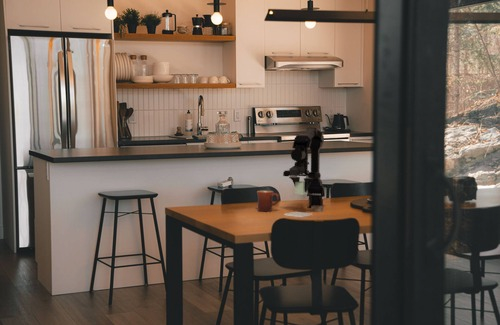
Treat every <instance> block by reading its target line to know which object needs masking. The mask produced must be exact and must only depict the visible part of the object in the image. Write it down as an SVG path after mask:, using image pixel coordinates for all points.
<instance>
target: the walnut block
mask: <svg viewBox="0 0 500 325" xmlns="http://www.w3.org/2000/svg"><path fill="white" fill-rule="evenodd" d="M310 209H311V210H310V211H311V212H310V213H322V212H324V205H323V206H318V205H313V206H311V208H310Z"/></svg>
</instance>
